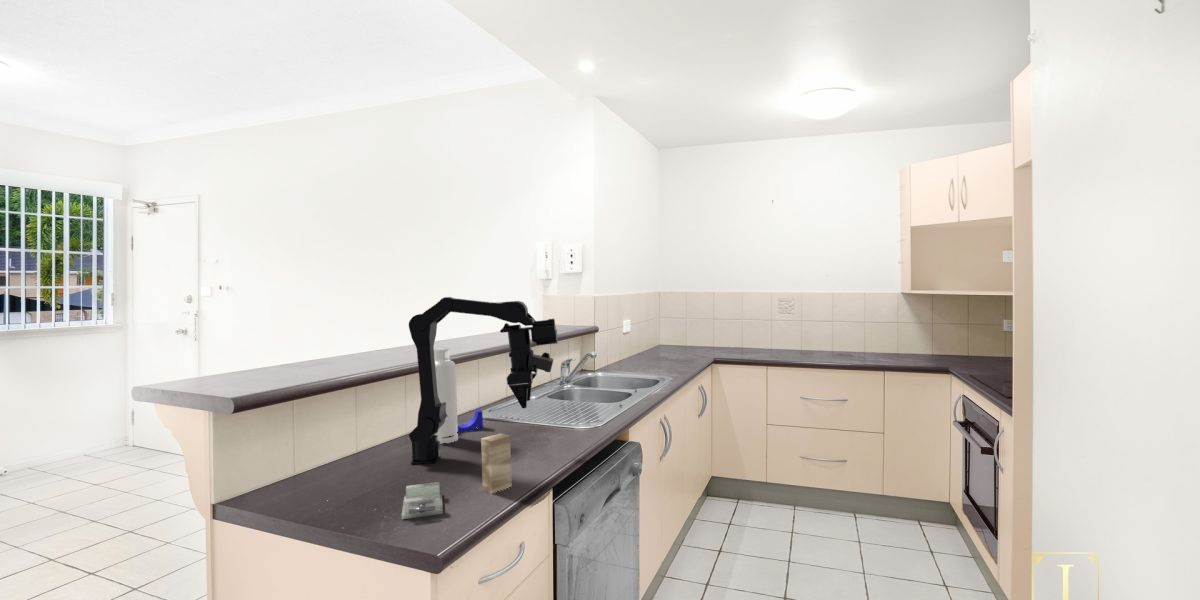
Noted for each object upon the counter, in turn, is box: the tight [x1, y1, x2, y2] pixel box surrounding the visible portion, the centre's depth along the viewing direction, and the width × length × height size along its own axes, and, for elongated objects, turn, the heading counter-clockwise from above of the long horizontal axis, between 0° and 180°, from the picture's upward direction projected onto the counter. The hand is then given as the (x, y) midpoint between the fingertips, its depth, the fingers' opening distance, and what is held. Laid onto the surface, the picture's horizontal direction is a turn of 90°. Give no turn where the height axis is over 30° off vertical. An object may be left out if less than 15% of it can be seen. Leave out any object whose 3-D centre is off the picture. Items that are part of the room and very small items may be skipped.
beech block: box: [480, 432, 513, 494], centre depth 128 cm, size 4×6×12 cm, turn 137°
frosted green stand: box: [401, 481, 444, 520], centre depth 118 cm, size 13×8×3 cm, turn 17°
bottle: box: [434, 347, 459, 445], centre depth 169 cm, size 8×8×28 cm
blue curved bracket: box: [458, 409, 484, 433], centre depth 180 cm, size 12×4×6 cm, turn 118°
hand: (526, 404), depth 150 cm, fingers open, 9 cm apart
